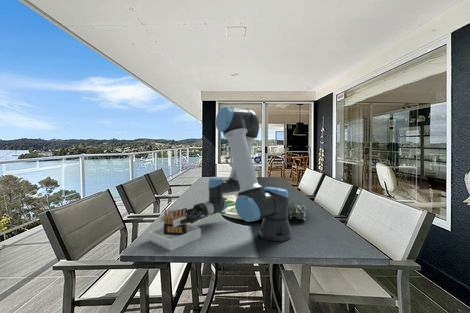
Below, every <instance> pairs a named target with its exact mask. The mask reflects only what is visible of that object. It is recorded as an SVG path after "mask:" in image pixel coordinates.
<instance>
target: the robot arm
mask: <svg viewBox="0 0 470 313" xmlns="http://www.w3.org/2000/svg"><path fill="white" fill-rule="evenodd" d="M215 128H216V129H217V131H218V132H221V133H222V135H223V138H224V139H226V140H228V141H227V142H228V145H229V149H230V153H231V157H232V162H233V163H232V166H231V171H230V174H229V177H228V179H223V178H222V177H221V176H211V177H209V179H208V186H207V187H208V200H207V201H203V202H200V203H196V204H194V205H193V207H192V208H189V209H188V208H187V207H185V208H184V207H183V208H180V209H181V212H182V218H180V219H176V220H173V227H176V226H179V225H182V224H184V223H186V224H189V223H190V225H191V224H194V223H196V222H198V221H199V220H202V219H205V218H209V216H212V215H215V214H218V213H222V212H223V211H225V210H226V208H227V201H226V199H225V198H223V196H224V194H228V193H230V194H231V193H235V192H236V193H237V196H238V197H236V199H235V202H234V203H235V205H234V206H235V207H234V208H235V211H236V213H237V216H239V217H240V218H241V219H242V220H243V221H245V222H248V223H249V222H256V221H259V220H261V219H262V222H261V225H260V228H259V236H260V238H262V239H264V240H266V241H271V242H285V241H288V240H290V239H292V237H293V236H292V229H291V226H290V223H289V215H288V213H289V212H288V211H289V199H290V197H289V191H288V190H287V189H285V188H283V187H275V186H264V187H263V185H261V184H259V181H258V178H257V173H256V169H255V166H254V162H253V158H252V154H251V153H252V148H253V146H254V142H255V139H257V138H258V135H259V131H260V122H259V117H258V115H257V113H256V112H255V111H253V109H250V108H247V107H245V108H244V107H243V108H242V107H232V106H223V107H222V108H220V109H219V110H218V112H217V114H216V117H215ZM180 209H177V211H178V218H179V211H180ZM183 210H185V215H186V217H183ZM170 212H171V217H172V210H170ZM175 212H176V209H174V216H175ZM167 217H168V213H167ZM159 223H164V215H163V214H162V215H160V216H159Z"/></svg>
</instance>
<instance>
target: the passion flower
mask: <svg viewBox="0 0 470 313" xmlns="http://www.w3.org/2000/svg"><path fill="white" fill-rule="evenodd" d="M292 205H293V207H294V208H293V209H292V210H290V211H289V210H288V216H289V215H290V217H289V220H291V219H292V218H293V217H297V215H298V214H300V217H301V219H302V221H306V215H307V214H306V211H308V209H307V207H306V206H305V205H304V204H302V207H301V206H300V205H299V204H295V202H293V204H292ZM304 210H305V211H304Z"/></svg>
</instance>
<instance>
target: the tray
mask: <svg viewBox="0 0 470 313" xmlns="http://www.w3.org/2000/svg"><path fill="white" fill-rule="evenodd" d="M186 225H187V233H186V234H183V235H164V226H163V227H160V228H156V229H154V230H151V231H148V242H149V243H150V244H154V245H156V246H158V247H161V248H163V249H165V250H167V251H170V252H171V251H174V250H176V249H178V248H181V247H183V246H185V245H187V244H190V243H193V242H194V241H197V240H200V239H202V228H201V227H198V226H194V225H191V224H189V223H186Z"/></svg>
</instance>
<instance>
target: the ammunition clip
mask: <svg viewBox="0 0 470 313" xmlns="http://www.w3.org/2000/svg"><path fill="white" fill-rule="evenodd" d="M181 209H182V208H180V209H179V210H180V211H179V217H178V211H177V210H178V209H177V208H176V209H174V208H172V210H171V209H170V208H168V210H167V208H164V222H163V227H164V235H183V234H186V233H187V225H186V224H187V223H184V224H182V225H179V226H176V227H173V220H176V219H180V218H183V217H186V215H187V214H186V215H185V210H183V217H182V212H181ZM175 210H176V212H175V216H174V211H175ZM167 211H168V212H167ZM170 211H172V217H171V212H170ZM167 214H168V217H167Z"/></svg>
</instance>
